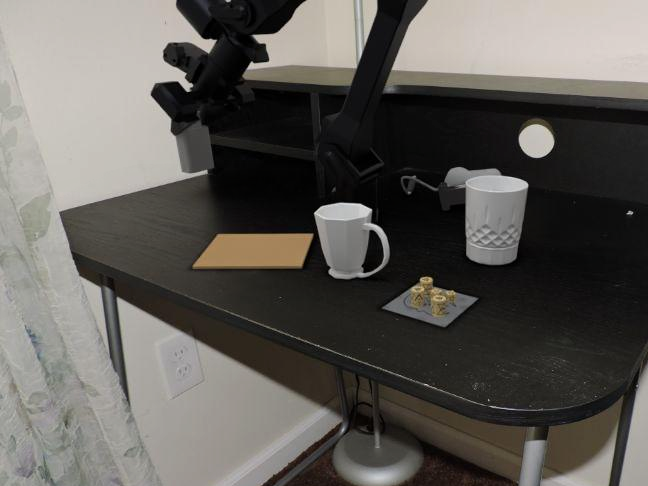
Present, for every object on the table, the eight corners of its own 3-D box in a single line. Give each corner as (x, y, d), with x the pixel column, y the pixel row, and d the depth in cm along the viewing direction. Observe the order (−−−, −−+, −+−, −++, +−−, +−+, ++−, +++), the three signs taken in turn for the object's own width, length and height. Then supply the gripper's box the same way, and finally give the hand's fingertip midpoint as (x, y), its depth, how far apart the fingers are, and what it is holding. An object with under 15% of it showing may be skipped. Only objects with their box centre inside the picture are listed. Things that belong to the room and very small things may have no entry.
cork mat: (313, 236, 84) (313, 233, 84) (301, 268, 73) (301, 265, 73) (218, 236, 84) (218, 234, 84) (192, 269, 73) (192, 266, 73)
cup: (341, 257, 76) (339, 199, 73) (404, 274, 72) (404, 212, 68) (306, 275, 71) (301, 213, 68) (371, 294, 66) (369, 229, 63)
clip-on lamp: (390, 216, 101) (482, 211, 91) (381, 182, 99) (474, 172, 88) (423, 194, 110) (510, 187, 99) (415, 162, 107) (504, 151, 97)
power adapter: (179, 171, 99) (166, 99, 94) (204, 165, 103) (192, 95, 98) (191, 173, 98) (178, 100, 92) (216, 167, 102) (205, 96, 97)
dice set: (441, 318, 61) (442, 302, 60) (401, 306, 64) (401, 291, 63) (463, 300, 65) (463, 285, 64) (424, 290, 67) (424, 275, 66)
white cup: (484, 271, 72) (489, 194, 68) (450, 251, 78) (454, 179, 74) (533, 260, 75) (541, 186, 71) (497, 242, 82) (503, 172, 77)
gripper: (232, 22, 96) (193, 88, 105) (146, 23, 81) (109, 101, 90) (275, 73, 97) (233, 135, 106) (198, 84, 82) (156, 155, 91)
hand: (185, 130), depth 98 cm, fingers closed on power adapter, 5 cm apart
